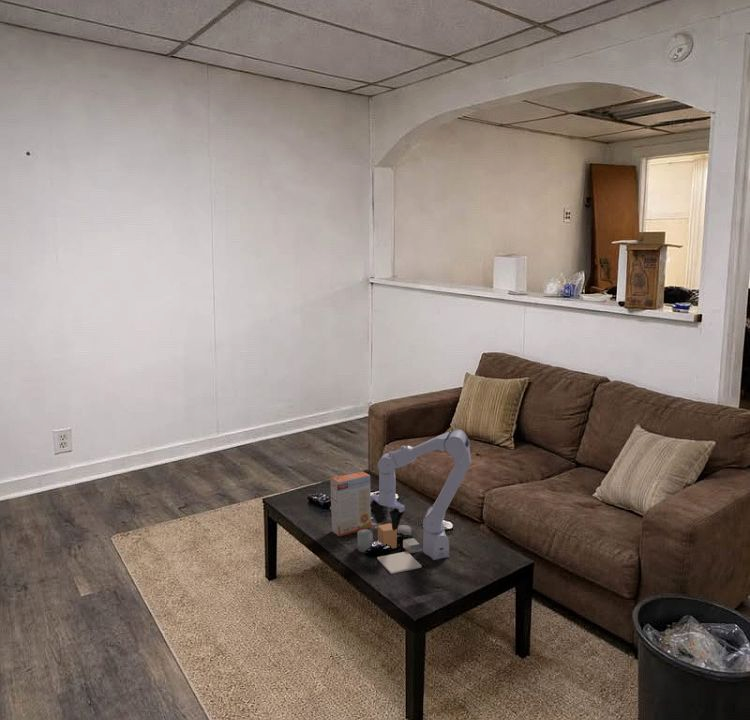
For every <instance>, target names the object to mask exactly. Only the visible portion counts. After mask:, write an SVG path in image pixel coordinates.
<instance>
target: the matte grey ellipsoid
mask: <svg viewBox="0 0 750 720" xmlns="http://www.w3.org/2000/svg"><path fill="white" fill-rule="evenodd" d="M397 532H398V533H402V534H404V535H411V536H412V527H411V526H410V525H406V524H399V525H398V529H397Z"/></svg>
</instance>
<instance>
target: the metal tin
mask: <svg viewBox="0 0 750 720" xmlns="http://www.w3.org/2000/svg"><path fill="white" fill-rule="evenodd" d="M420 547H421V544H420V543H419V542H418V541H417V539H415V538H414V537H411V538H404V539H403V540H402V548H403V549H404V551H405V552H406V551H407V552H408V553H409V554H410V555H411V554H414V553H420V550H421V548H420Z"/></svg>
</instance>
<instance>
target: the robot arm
mask: <svg viewBox="0 0 750 720" xmlns="http://www.w3.org/2000/svg"><path fill="white" fill-rule="evenodd" d="M468 437H469V436H468V435H467V434H466V432H464V430H462V429H458V428H457V429H454V430H451V431H447V432H444V433H442V434H440V435H437V436H435V437H433V438H430V439H428V440H426V441H424V442H422V443H420V444H417V445H415V446H411V445H401V446H400V448H398V449H396V450H393V451H391V450H390V451H388V452H386V453H384V454H383V455H382V456H381V457H380V459H379V460H378V462H377V464H376V465H377V469H378V471H379V475H378V494H372V495H371V504H370V507H371V511H372V512H373V515H374V518H375V523H376V524H380V523H382V522H383V515H384V507H388V508H390V509H392V510H390V511H389V515H390V517H391V518H390V519H391V524H392V529H393V530H396V529H398V526H399V525H400V522H401V519H402V517H403V515H404V513H405V511H406V510H405V508H406V506H405V505H404V504H402V503H401V502H399V501H398V500H397V499H398V498H397V497H396V489H397V488H396V485H397V484H396V481H397V480H396V479H397V477H396V469H399V468H402V467H405V466H407V465H409V464H411V463H414V462H415V461H416V459H417V457H419V456H422V455H426V454H428V453H431V452H434V451H435V450H438V451H441V452H443V453H445V452H447V453H448V455H450V456H451V457H452V459H453V461H454V463H455V464H454V466H453V468H452V469H451V472H450V474H449V476H448V477H447V479H446V481H445V483H444V485H443V486H442V488H441V491H440V492H439V494H438V496H437V498H436V500H435V502H434V503H433V504H432V505H430V506H429V507H428V509H427V511H426V514H425V517H424V518H423V519H422V527H423V529H422V530H423V533H422V534H423V536H422V537H423V539H422V547H423V548H422V552H423V554H425V555H426V556H428V557H430V558H431V559H432V560H433V561H435V560H440V559H444V558H449V556H450V539H449V537H448V536H447V535H446V531H445V528H446V527H445V525H444V523H443V521H444V519H445V516H446V512H447V510H448V507H449V506H450V504H451V503H452V500H453V498H454V497H455V495H456V493H457V491H458V489H459V487H460V485H461V483H462V482H463V480H464V478H465V477H466V474H467V473H468V470H469V469H470V467H471V464H472V457H471V448H470V446H471V445H470V439H469V438H468Z"/></svg>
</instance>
